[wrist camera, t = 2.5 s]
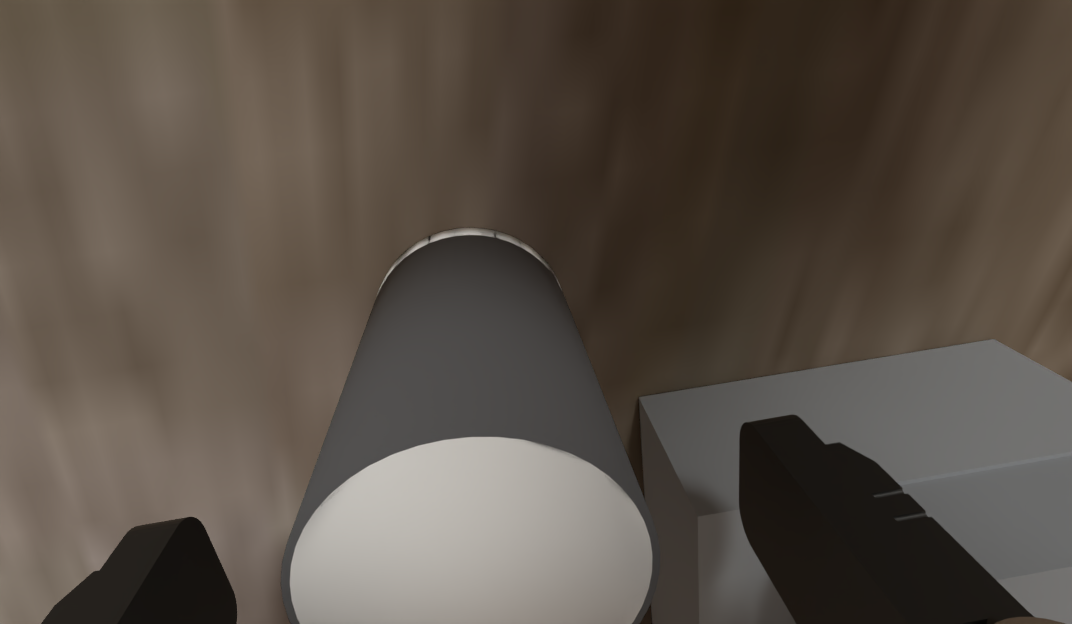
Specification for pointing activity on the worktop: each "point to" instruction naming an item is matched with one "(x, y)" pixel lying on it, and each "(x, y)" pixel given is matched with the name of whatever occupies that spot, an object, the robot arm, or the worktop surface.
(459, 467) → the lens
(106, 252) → the worktop surface
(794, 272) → the worktop surface
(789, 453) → the robot arm
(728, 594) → the camera body
